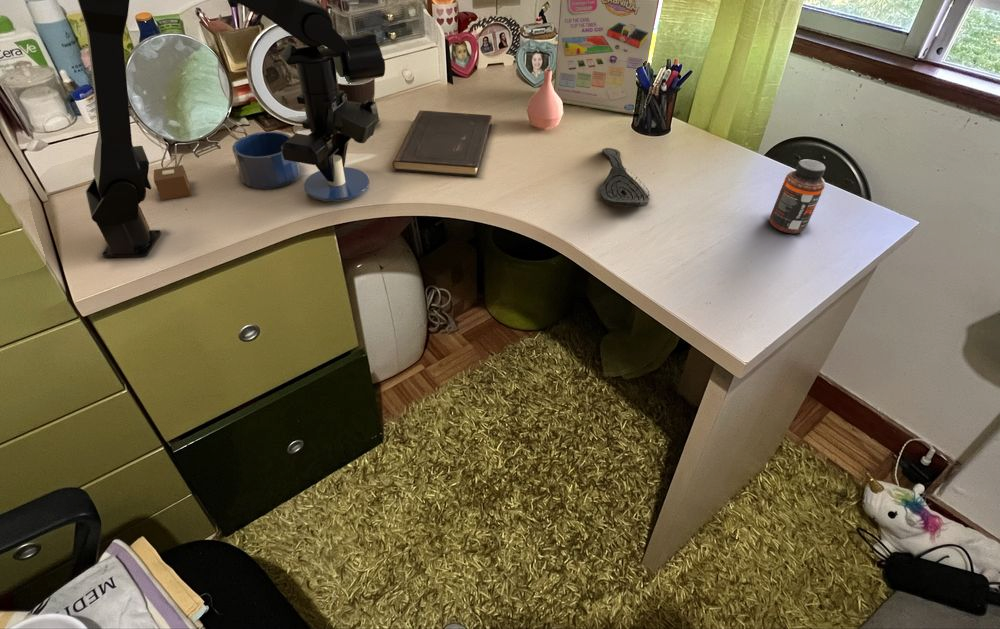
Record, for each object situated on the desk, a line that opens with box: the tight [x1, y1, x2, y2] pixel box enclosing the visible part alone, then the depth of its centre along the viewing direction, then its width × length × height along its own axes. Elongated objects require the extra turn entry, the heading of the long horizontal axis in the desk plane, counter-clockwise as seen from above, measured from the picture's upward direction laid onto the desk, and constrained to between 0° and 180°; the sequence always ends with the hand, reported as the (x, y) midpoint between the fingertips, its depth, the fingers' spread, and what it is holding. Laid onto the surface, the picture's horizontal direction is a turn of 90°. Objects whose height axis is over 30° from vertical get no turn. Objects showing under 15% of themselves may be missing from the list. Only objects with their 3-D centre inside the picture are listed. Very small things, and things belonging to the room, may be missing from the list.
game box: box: [553, 0, 663, 115], centre depth 126 cm, size 21×6×27 cm, turn 69°
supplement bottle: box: [769, 158, 826, 234], centre depth 95 cm, size 6×6×11 cm
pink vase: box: [526, 68, 564, 130], centre depth 121 cm, size 8×8×12 cm
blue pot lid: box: [303, 155, 370, 202], centre depth 101 cm, size 11×11×6 cm
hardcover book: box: [392, 109, 493, 178], centre depth 116 cm, size 16×23×2 cm
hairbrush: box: [599, 147, 650, 208], centre depth 107 cm, size 8×4×25 cm
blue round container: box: [232, 131, 302, 190], centre depth 105 cm, size 10×10×6 cm
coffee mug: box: [336, 72, 376, 103], centre depth 122 cm, size 12×9×10 cm
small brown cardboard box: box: [153, 164, 192, 201], centre depth 100 cm, size 4×5×4 cm
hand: (335, 177), depth 102 cm, fingers closed on blue pot lid, 3 cm apart
